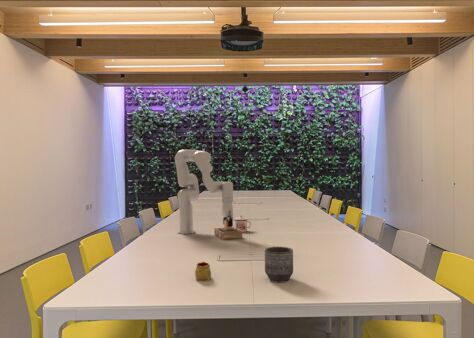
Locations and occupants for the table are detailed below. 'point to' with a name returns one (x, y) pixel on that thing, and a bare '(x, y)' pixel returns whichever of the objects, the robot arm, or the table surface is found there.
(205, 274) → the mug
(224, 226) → the block
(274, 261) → the planter
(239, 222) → the teacup with lid
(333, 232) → the table surface
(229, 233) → the oak box
